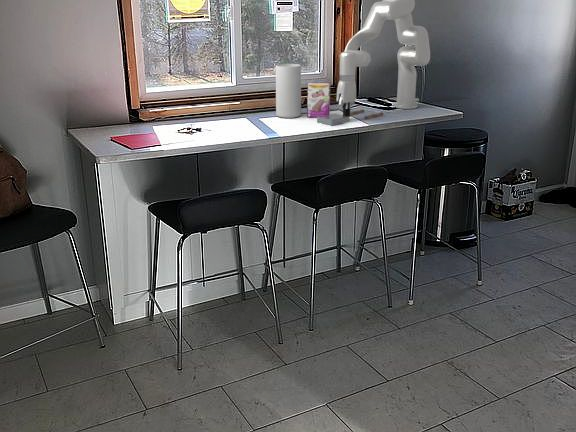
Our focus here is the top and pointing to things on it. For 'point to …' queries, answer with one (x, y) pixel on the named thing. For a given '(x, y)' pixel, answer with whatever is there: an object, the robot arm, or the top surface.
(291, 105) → the cylinder vase
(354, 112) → the pair of brown sticks
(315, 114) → the candy bar box
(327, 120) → the steel cover plate
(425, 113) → the top surface
